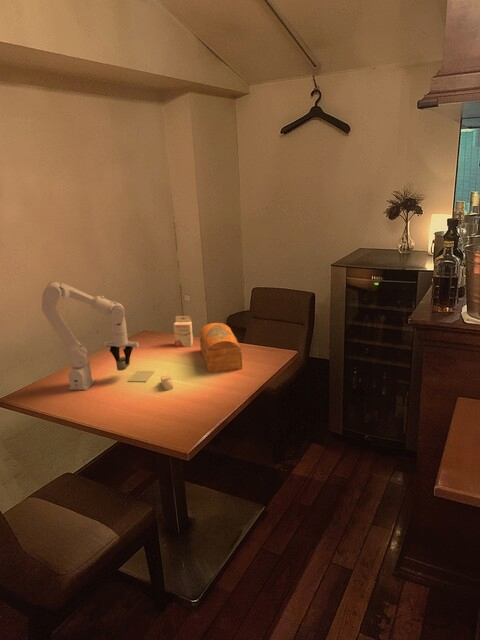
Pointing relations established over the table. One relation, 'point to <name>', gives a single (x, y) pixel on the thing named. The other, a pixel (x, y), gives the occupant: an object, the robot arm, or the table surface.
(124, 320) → the robot arm
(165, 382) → the ivory plug
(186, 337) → the ink cartridge box
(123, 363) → the tan-capped grey bottle
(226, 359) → the wooden box
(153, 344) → the table surface
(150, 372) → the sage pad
